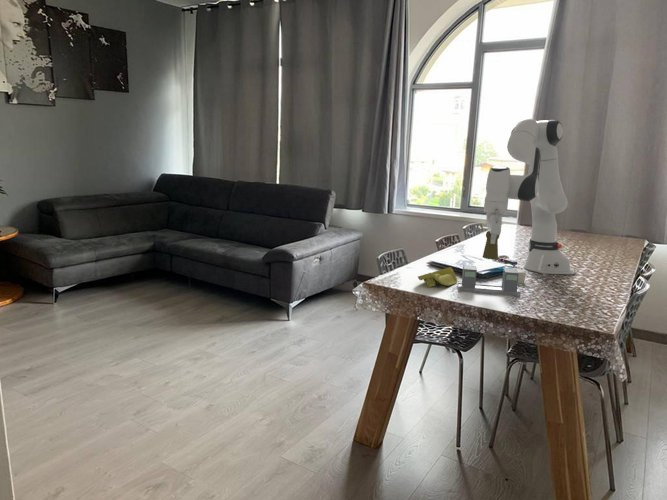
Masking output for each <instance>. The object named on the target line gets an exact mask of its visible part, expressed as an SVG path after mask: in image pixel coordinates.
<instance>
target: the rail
mask: <svg viewBox="0 0 667 500" xmlns="http://www.w3.org/2000/svg"><path fill="white" fill-rule="evenodd" d="M457 290H458V291H457V292H461V293H462V292H465V293H475V294H476V293H477V294H488V295H498V296H500V295H501V296H509V297H511V296H512V297H521V291H520V289H519V286H517V293H516V292H504V290H503V289H502V285H497V284H488V283H487V284H485V283H476V285H475V289H468V288H462V281H460V282H459V281H457Z"/></svg>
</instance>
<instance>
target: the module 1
mask: <svg viewBox="0 0 667 500" xmlns="http://www.w3.org/2000/svg"><path fill="white" fill-rule="evenodd" d="M477 272H478V269H477V266H476V265H469V264H468V265H467V264H463V266H462V276H461V282H462V288H468V289H475V285H476V284H477Z"/></svg>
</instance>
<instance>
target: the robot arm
mask: <svg viewBox="0 0 667 500" xmlns="http://www.w3.org/2000/svg"><path fill="white" fill-rule="evenodd" d="M563 134H564V129H563V125H562V123H561V122H560V121H559V120H557V119H549V120H538V121H537V120H535V119H533V118H531V117H530V118H529V117H525V118H522V119H520V120H519V121H518V122H517V124H515V127H513V128H512V130H511V132H510V136H509V138H508V140H507V146H506V148H507V152H508V154H509V156H510V157H512V159H515V160H517V161H519V162H521V163H524V164H527V165H528V170H527V174H524V175H520V174H519V175H518V174H511V168H510V167H508V166H503V165H497V166H496V165H495V166H492V167H490V168H489V171H488V174H487V180H486V184H485V186H486V187H485V191H486V195H485V197H484V203H483V204H484V205H483V212H484V213H486V227H487V229H488V231H490V233H491V239H490V243H491V244H495V241H496V237H497V235H501V233H502V223H503V222H502V221H503V218H504V215H505V214H508V207H509V199H510V200H519V201H523V202H529V203H530V208H531V220H532V221H531V223H532V224H531V233H530V234H531V235H530V239H529V242H528V249H527V250H528V253H527V258H526V261H525V263H524V266H523V268H524V269H525V270H528V271H531V272H535V273H539V274H545V275H546V274H547V275H575V273H576V271H575V269H574V268H573V267H571V262H570V258H569V257H568V256H567V255H565V254H564V253H563V252H562V251H561V250H560V249H562V248H563V245H562V244H561V243H559V242H557V241H556V240H557V231H558V223H557V220H556V214H557V215H558V214H560V213H562V212H564V211H565V210H566V209H567V207H568V205H569V203H568V202H569V200H568V198H567V195H566V194H565V191H564V187H563V184H562V181H561V177H560V168H559V167H560V165H559V164H560V163H559V152H558V148H557V145H558V143H560V142H561V140H562V139H563Z"/></svg>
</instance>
